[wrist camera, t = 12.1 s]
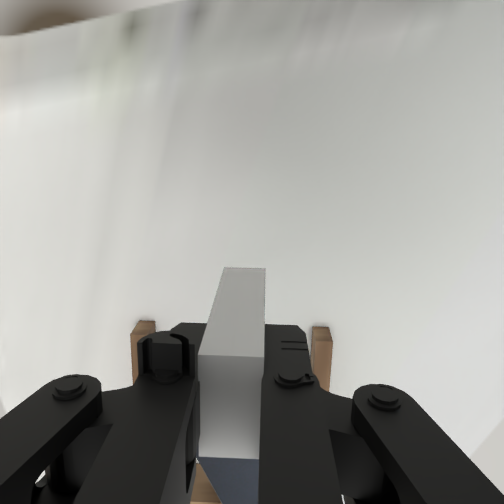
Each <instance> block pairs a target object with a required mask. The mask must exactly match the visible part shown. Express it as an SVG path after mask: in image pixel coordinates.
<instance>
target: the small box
mask: <svg viewBox="0 0 504 504" xmlns="http://www.w3.org/2000/svg"><path fill="white" fill-rule="evenodd" d="M196 458H197V459H198V461H199V463H200V465H201V467H202V468H203V470H204V472H205V474H206V476H207V478H208V479H209V481H210V483H211V485H212V487H213V488H214V490H215V492H216V494H217V496H218V497H219V499H220V501H221V503H222V504H258V477H259V459H243V458H219V457H199V443H198V447H197V452H196Z"/></svg>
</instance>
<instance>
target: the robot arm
mask: <svg viewBox="0 0 504 504" xmlns="http://www.w3.org/2000/svg"><path fill="white" fill-rule="evenodd" d="M137 357H138V377H137V378H136V380H135V382H134V384H133V386H130V387H127V388H122V389H117V390H111V391H104V392H102V391H101V382H100V381H99V380H98V379H97V378H94V377H92V376H89V375H79V374H74V375H67V376H63V377H61V378H58V379H55V380H53V381H51V382H49V383H47V384H46V385H44V386H43V387H41V388H40V389H39V390H37V391H36V392H35V393H33V394H32V395H31V396H29V397H28V398H27V399H26V400H24V401H23V402H22V403H20V404H19V405H18V406H16V407H15V408H14V409H12V410H11V411H10V412H8V413H7V414H6V415H5V416H3V417H2V418H1V419H0V504H190V501H191V496H192V491H193V486H194V481H195V476H196V452H197V447H198V443H199V457H219V458H243V459H259V477H258V504H343V501H342V496H341V494H342V495H344V501H345V504H504V495H503V494H502V493H501V492H500V491H499V490H498V489H497V488H496V487H495V486H494V484H493V483H492V482H491V481H490V480H489V479H488V478H487V477H486V476H485V475H484V474H483V473H482V472H481V470H480V469H479V468H478V467H477V466H476V465H475V464H474V463H473V462H472V461H471V460H470V459H469V458H468V457H467V456H466V454H465V453H464V452H463V451H462V450H461V449H460V448H459V447H458V446H457V445H456V444H455V443H454V442H453V441H452V440H451V438H450V437H449V436H448V435H447V434H446V433H445V432H444V431H443V430H442V429H441V428H440V427H439V426H438V425H437V424H436V422H435V421H434V420H433V419H432V418H431V417H430V416H429V415H428V414H427V413H426V412H425V411H424V410H423V409H422V408H421V407H420V405H419V404H418V403H417V402H416V401H415V400H414V399H413V398H412V397H411V396H409V395H408V394H407V393H405V392H404V391H402V390H399V389H397V388H395V387H393V386H389V385H384V384H369V385H365V386H361V387H360V388H358V389H357V390H355V392H354V395H353V399H350V398H346V397H342V396H338V395H335V394H332V393H330V392H328V391H326V390H324V389H323V388H321V387H320V383H319V380H318V378H317V376H316V375H315V374H313V373H312V367H311V362H310V356H309V351H308V345H307V339H306V334H305V332H304V331H303V330H302V329H300V328H299V327H298V326H297V325H272V324H265V269H262V268H231V267H224V270H223V273H222V276H221V280H220V283H219V286H218V289H217V293H216V296H215V299H214V303H213V306H212V309H211V313H210V316H209V319H208V322H207V323H180V324H178V325H177V326H175V327H174V328H173V329H171V330H170V331H160V332H155V333H151V334H148V335H146V336H144V337H142V338H141V339H140V340H139V341H138V342H137ZM44 470H45V475H44V477H43V478H42V479H41V480H40V481H39V482H37V483H36V484H35V482H36V480H37V479H38V477H39V476H40V475H41V473H42V472H43V471H44Z"/></svg>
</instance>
